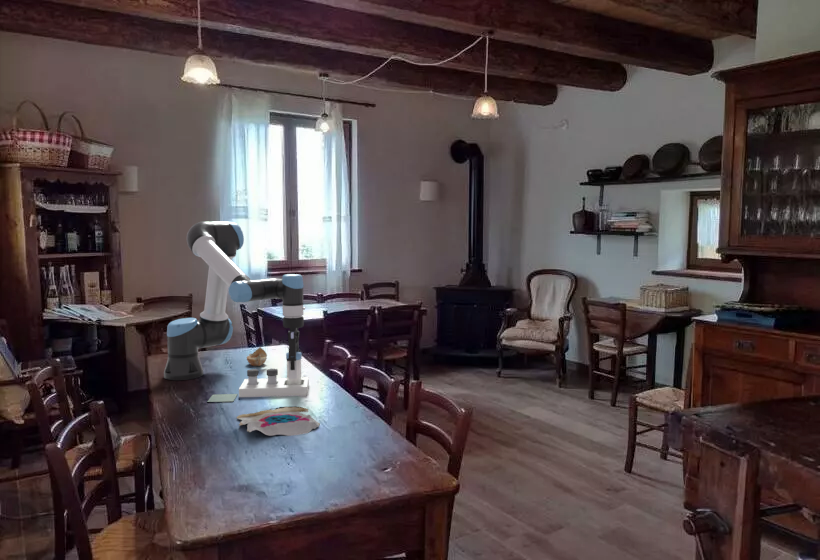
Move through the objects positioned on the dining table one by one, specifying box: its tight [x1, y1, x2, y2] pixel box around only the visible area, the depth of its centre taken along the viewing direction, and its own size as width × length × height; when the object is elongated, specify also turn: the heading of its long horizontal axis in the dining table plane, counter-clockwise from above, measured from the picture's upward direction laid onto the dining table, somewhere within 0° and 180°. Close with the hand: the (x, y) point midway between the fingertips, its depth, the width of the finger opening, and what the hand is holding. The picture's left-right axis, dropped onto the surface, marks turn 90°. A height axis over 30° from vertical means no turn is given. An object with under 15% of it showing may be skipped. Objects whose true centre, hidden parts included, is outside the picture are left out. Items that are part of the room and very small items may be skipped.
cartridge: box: [285, 351, 302, 385], centre depth 223 cm, size 6×6×14 cm
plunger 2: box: [266, 368, 279, 385], centre depth 222 cm, size 4×4×7 cm
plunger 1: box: [246, 368, 259, 385], centre depth 222 cm, size 4×4×7 cm
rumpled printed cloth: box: [236, 406, 321, 437], centre depth 192 cm, size 24×29×3 cm
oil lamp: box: [246, 346, 268, 367], centre depth 268 cm, size 9×21×10 cm, turn 24°
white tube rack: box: [238, 376, 310, 398], centre depth 223 cm, size 14×24×4 cm, turn 97°
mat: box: [206, 393, 239, 403], centre depth 216 cm, size 9×9×1 cm
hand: (294, 374), depth 223 cm, fingers open, 12 cm apart
